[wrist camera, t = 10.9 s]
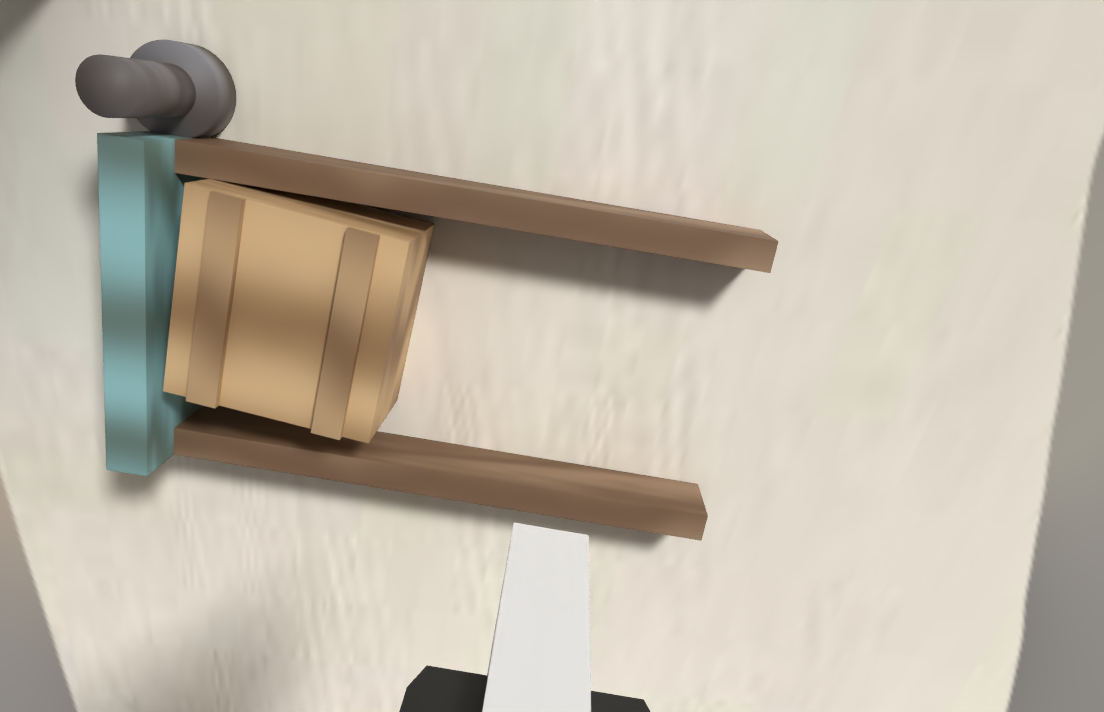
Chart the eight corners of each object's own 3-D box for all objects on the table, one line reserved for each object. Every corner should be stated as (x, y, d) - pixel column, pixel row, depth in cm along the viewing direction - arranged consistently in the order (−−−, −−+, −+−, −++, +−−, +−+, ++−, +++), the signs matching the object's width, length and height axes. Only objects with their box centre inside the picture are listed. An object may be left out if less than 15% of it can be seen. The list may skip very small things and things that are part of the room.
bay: (147, 36, 36) (47, 18, 29) (782, 145, 36) (827, 151, 30) (149, 418, 42) (68, 474, 35) (692, 507, 43) (712, 579, 36)
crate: (244, 173, 38) (179, 183, 32) (435, 224, 38) (407, 244, 32) (221, 353, 41) (158, 394, 35) (398, 398, 41) (366, 446, 35)
